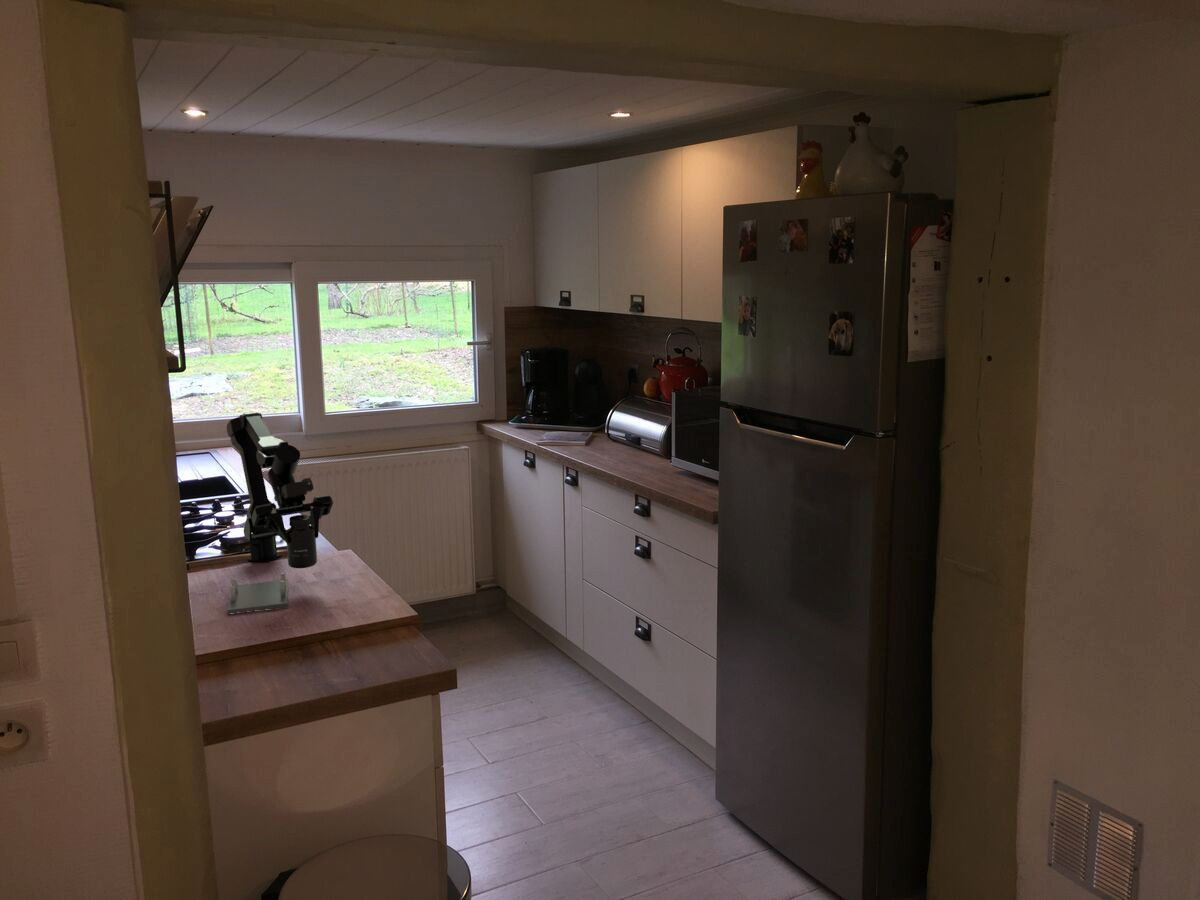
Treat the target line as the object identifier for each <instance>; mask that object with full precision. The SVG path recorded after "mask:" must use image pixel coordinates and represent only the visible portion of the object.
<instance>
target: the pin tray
mask: <svg viewBox="0 0 1200 900" xmlns="http://www.w3.org/2000/svg"><path fill="white" fill-rule="evenodd" d="M279 577H280V579H279V580H270V581H268V580H267V581H261V582H251V583H244V584H243V583H242V584H237V583H238V582H237V578H236V577H233V578H230V583H231V585H230V586H228V588H229V601H228V606H227V615H228V614H230V613H237V612H247V611H255V610H265V609H275V610H277V609H276V608H283V609H287V608H288V604H287V602H288V600H289V599H288V598H289V578H288V579H286V573H285V572H280V573H279ZM286 607H287V608H286Z"/></svg>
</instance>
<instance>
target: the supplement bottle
mask: <svg viewBox="0 0 1200 900" xmlns="http://www.w3.org/2000/svg"><path fill="white" fill-rule="evenodd" d="M289 526H290V527H289V528H288V529H287V530H286V532H287V535H288V538H289V543H288V544H287V543H286V551H287V552H286V553H287V563H288V564H287V565H288V566H289V567H290V568H293V569H307V568H311V567H314V566H316V564H317V563H318V553H317V538H316V534H315V529H314V528H313V527H312V526H311V521H310V515H308V514H297V515H296V514H295V515H291V516H290V517H289Z"/></svg>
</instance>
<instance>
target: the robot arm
mask: <svg viewBox="0 0 1200 900" xmlns="http://www.w3.org/2000/svg"><path fill="white" fill-rule="evenodd" d="M226 432H227V436H228V437H229V438H230V442H231V445H232V446H234V448H235V449H236V450H238V452H239V455H240V459H241V464H242V469H243V473H244V478H245V483H246V489H247V494H248V497H249V498H248V499H249V503H250V504H249V507H248V509H247V511H246V515H245V516H246V519H245V523H244V526H243V534H244V535H243V536H244V538H245V539H246V540H248V542H250V545H249V549H250V556H249V557H247V561H252V562H259V563H268V562H270V561H273V560H275V559H278V558H280V557H282V553H278V552H277V551H278V549H277V540H276V539H277V538H276V537H278V536H279V538H280V539H282V540H283V542H285V543H286V545H287V544H288V543H289V538H288V535H287V530H286V528H285V526H284V523H283V519H282V517H283V516H284V517H285V516H290V515H291V516H292V515H296V514H297V515H298V514H302V513H309V514H310V515H309V516H310V521H311V524H310V526H312V527H313V528H314V529H315V534H316V539H318V537H319V532H320V527H319V526H320V520H321V518H322V517H323V516H328V515H329V514H330V513H331V509H332V507H333V504H334V500H333V497H331V496H330V495H329V494H324V495H318V496H314V497H313V500H312V502H309V503H304V502H305V501H306V495H308V493H309V492H312V491H313V490H314V484H313V481H312V479H311V477H306V478H303V479H301V481H296V479H295V476H294V474H295V473H296V471H297V468H298V465H299V462H300V459H301V458H300V457H301V452H300V450H299V449H298V448H297V447H296V446H293V445H291V444H289V442H288V441H284V440H282V439H280V438H277V437H274V435H273V433H272V431H270V429H269V428H268V426H267V424H266V423H265V421H264V420H263V415H262V413H261V412H258V411H255V412H254V411H253V412H243V413H241V414H240V415H239V416H237V417H235V418H232V419H230V420H229V421H228V423H227V424H226ZM268 468H270V469H269V470H268V472H267V476H268V482H269V483H270V485H271V488H272V492H273V495H274V498H273V499H274V501H275V502H276V503H277V505H276V504H275V503H274V502H271V501H270V499H269V498H268V494H267V488H266V484H265V478H264V474H263V469H268ZM277 506H278V508H277Z"/></svg>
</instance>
